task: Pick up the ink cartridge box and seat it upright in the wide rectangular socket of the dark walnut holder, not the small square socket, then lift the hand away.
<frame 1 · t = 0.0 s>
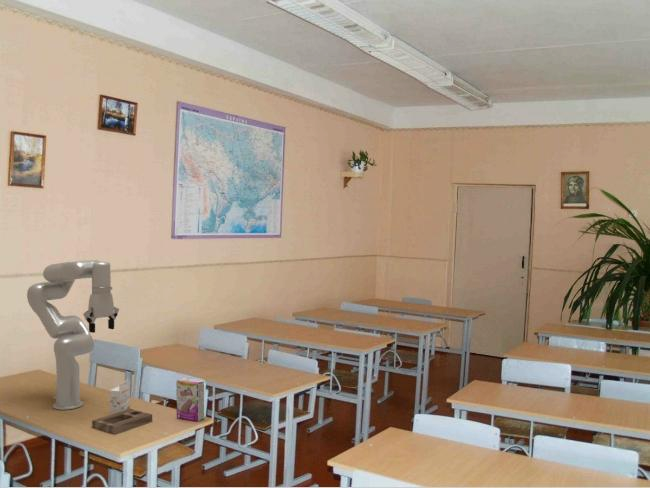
hand: (101, 330, 273), 37 cm above the table, tool pointing down, fingers open, 9 cm apart
candy bar box: (190, 419, 271), on the table
socket holder: (122, 424, 263), on the table
ink cartridge box: (120, 415, 276), on the table
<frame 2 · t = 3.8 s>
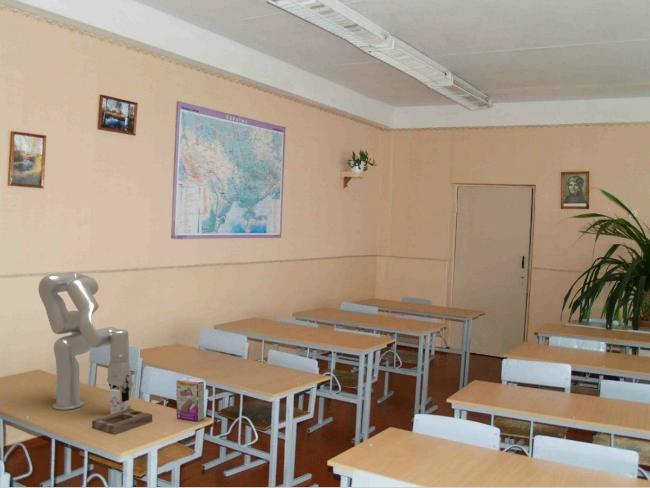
hand: (120, 399, 275), 7 cm above the table, tool pointing down, fingers closed on ink cartridge box, 6 cm apart
ink cartridge box: (120, 415, 276), on the table, touching gripper
everything else where it was.
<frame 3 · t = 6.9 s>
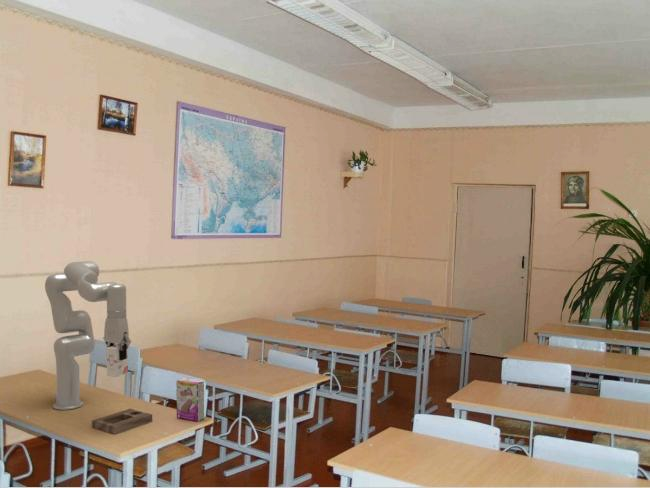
hand: (117, 358, 260), 28 cm above the table, tool pointing down, fingers closed on ink cartridge box, 6 cm apart
ink cartridge box: (117, 374, 261), point 21 cm above the table, touching gripper
everything else where it was.
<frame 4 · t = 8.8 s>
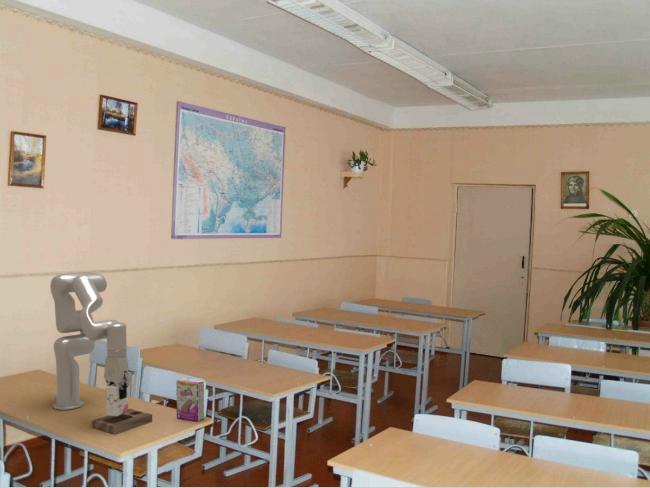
hand: (117, 396, 260), 12 cm above the table, tool pointing down, fingers closed on ink cartridge box, 6 cm apart
ink cartridge box: (117, 413, 260), point 5 cm above the table, touching gripper
everything else where it was.
when the fingers open (9 cm above the table, at t = 10.2 s): ink cartridge box drops 3 cm, resting in socket holder.
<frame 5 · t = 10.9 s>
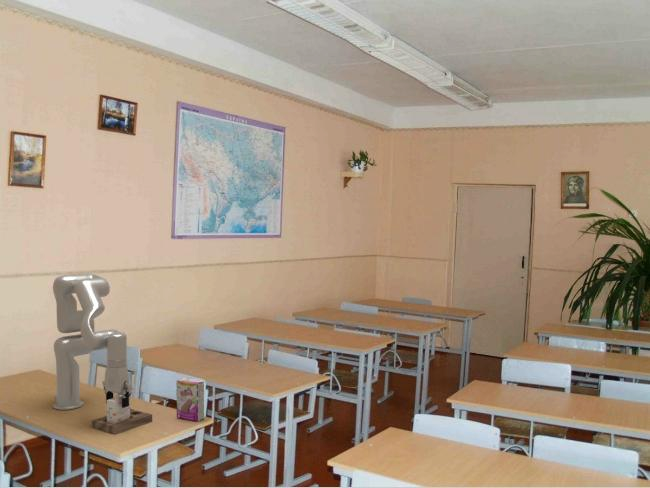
hand: (117, 404, 260), 9 cm above the table, tool pointing down, fingers open, 9 cm apart
ink cartridge box: (118, 426, 261), resting in socket holder
everything else where it was.
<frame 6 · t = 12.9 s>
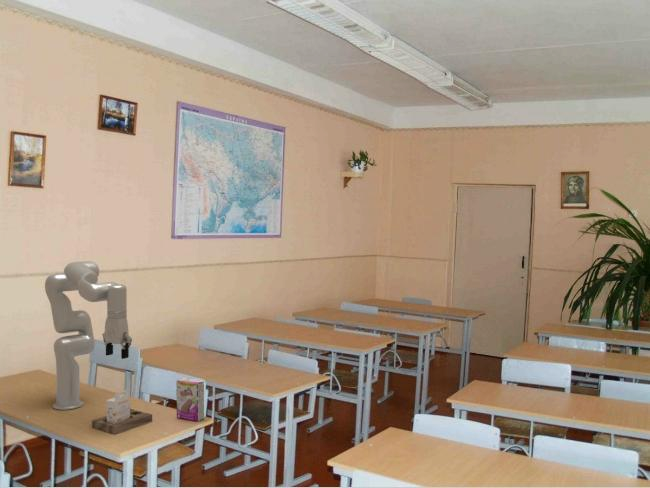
hand: (117, 356, 261), 28 cm above the table, tool pointing down, fingers open, 9 cm apart
nothing on the table moved.
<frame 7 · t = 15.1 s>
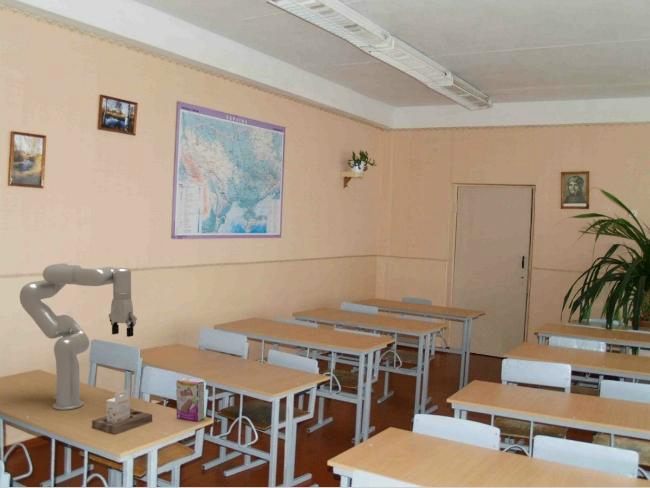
hand: (122, 335, 281), 33 cm above the table, tool pointing down, fingers open, 9 cm apart
nothing on the table moved.
at the end: ink cartridge box 0.4 cm from the target spot on the socket holder, point 0.0 cm above the socket holder's base; ink cartridge box tilted 0°; the gripper is holding nothing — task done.
